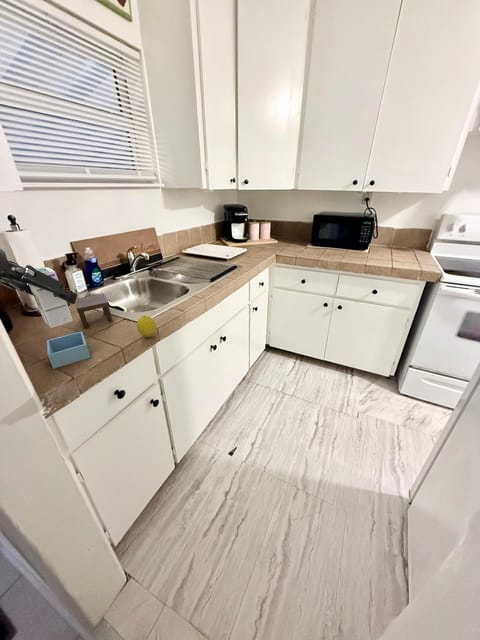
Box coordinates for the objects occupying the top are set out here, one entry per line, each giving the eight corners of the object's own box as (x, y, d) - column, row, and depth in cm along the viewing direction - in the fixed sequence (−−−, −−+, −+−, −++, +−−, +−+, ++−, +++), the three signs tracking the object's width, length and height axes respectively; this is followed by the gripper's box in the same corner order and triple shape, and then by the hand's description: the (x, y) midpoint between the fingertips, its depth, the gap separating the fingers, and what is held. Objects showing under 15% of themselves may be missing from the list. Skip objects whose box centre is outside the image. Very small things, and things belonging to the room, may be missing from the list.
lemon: (160, 334, 87) (156, 313, 83) (149, 343, 82) (144, 321, 79) (147, 331, 89) (143, 310, 85) (135, 339, 84) (130, 317, 81)
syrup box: (74, 321, 72) (56, 270, 65) (49, 329, 68) (28, 276, 61) (66, 314, 75) (49, 265, 68) (42, 322, 71) (22, 271, 65)
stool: (79, 318, 97) (73, 299, 94) (108, 311, 102) (103, 293, 99) (83, 329, 90) (76, 308, 86) (113, 321, 95) (108, 301, 91)
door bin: (51, 352, 78) (46, 340, 76) (86, 343, 82) (82, 331, 80) (53, 368, 71) (47, 355, 69) (90, 357, 76) (86, 344, 74)
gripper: (22, 239, 50) (98, 288, 72) (-63, 235, 53) (34, 283, 75) (7, 274, 48) (90, 314, 69) (-80, 268, 51) (25, 308, 73)
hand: (61, 298), depth 72 cm, fingers closed on syrup box, 7 cm apart
